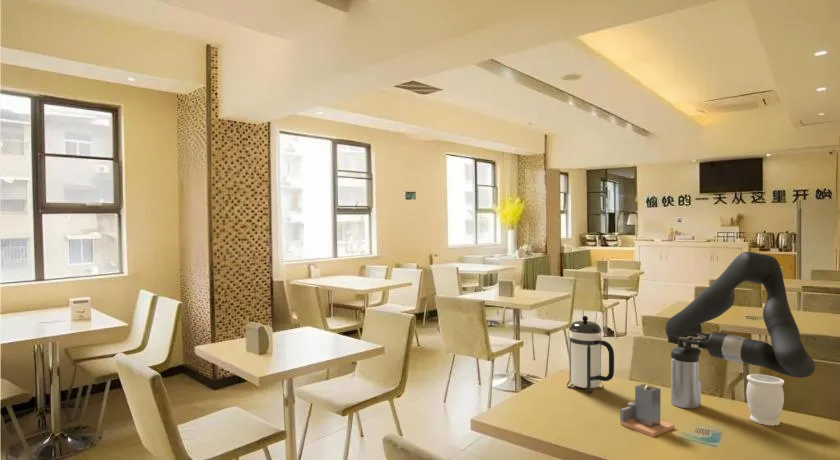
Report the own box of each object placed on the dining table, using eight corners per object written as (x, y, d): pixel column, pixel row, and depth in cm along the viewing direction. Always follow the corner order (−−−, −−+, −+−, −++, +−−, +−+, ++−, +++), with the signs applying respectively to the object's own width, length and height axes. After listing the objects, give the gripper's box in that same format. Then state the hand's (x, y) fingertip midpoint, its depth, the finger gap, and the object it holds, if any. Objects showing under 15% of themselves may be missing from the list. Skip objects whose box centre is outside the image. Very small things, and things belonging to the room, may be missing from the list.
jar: (779, 418, 174) (780, 375, 174) (787, 429, 165) (787, 384, 164) (743, 413, 179) (744, 372, 178) (749, 424, 169) (749, 380, 169)
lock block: (643, 418, 172) (644, 382, 172) (660, 424, 167) (660, 387, 167) (635, 421, 169) (635, 384, 169) (651, 427, 164) (651, 389, 164)
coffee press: (569, 393, 200) (569, 319, 200) (564, 380, 216) (564, 312, 215) (614, 395, 197) (614, 320, 197) (606, 382, 213) (606, 313, 212)
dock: (638, 415, 177) (639, 399, 177) (674, 428, 166) (674, 410, 166) (618, 423, 171) (618, 406, 171) (653, 437, 160) (653, 418, 160)
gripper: (741, 331, 151) (688, 322, 164) (717, 338, 143) (663, 327, 157) (741, 356, 151) (688, 345, 164) (717, 364, 143) (663, 351, 157)
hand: (676, 336), depth 160 cm, fingers open, 8 cm apart
